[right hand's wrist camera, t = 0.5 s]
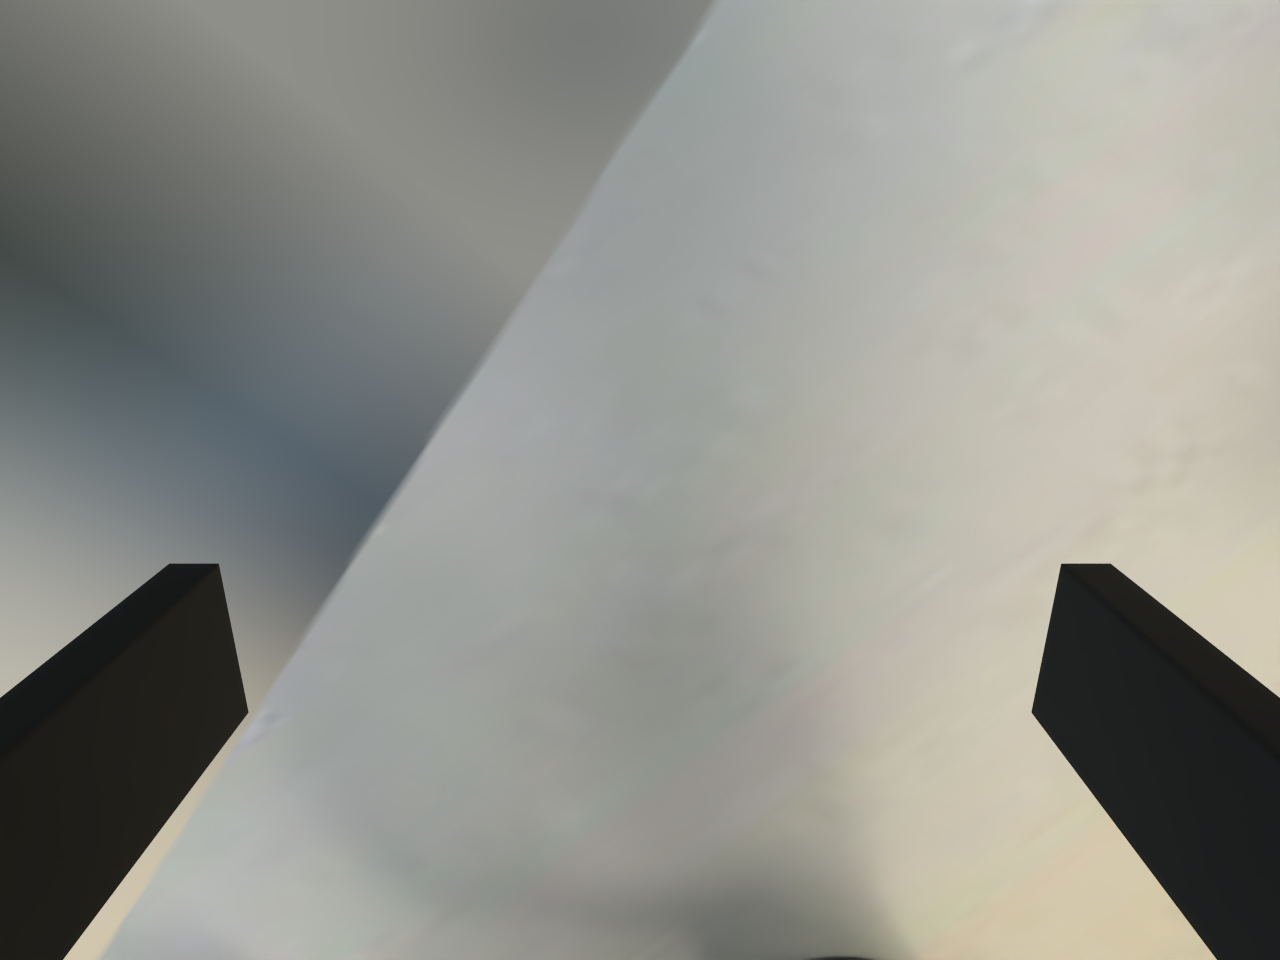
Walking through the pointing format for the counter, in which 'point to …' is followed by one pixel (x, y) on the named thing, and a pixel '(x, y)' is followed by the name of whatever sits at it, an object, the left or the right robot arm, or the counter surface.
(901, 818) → the counter surface
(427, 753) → the counter surface
